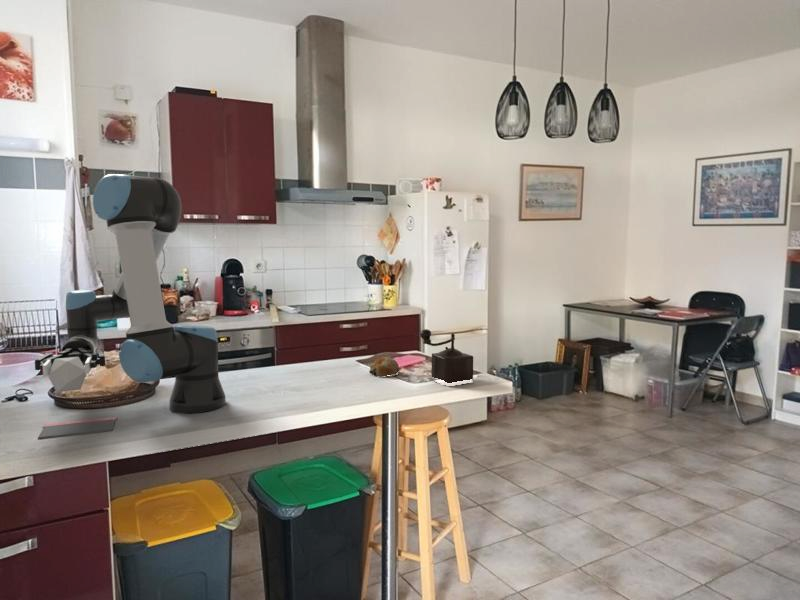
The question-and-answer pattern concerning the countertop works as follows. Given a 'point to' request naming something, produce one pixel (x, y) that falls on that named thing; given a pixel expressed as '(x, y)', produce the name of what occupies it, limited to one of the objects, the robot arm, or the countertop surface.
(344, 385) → the countertop surface
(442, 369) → the manual coffee grinder
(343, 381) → the countertop surface
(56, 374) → the die
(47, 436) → the mat
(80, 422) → the line
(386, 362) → the mottled brown round lump
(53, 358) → the robot arm
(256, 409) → the countertop surface
